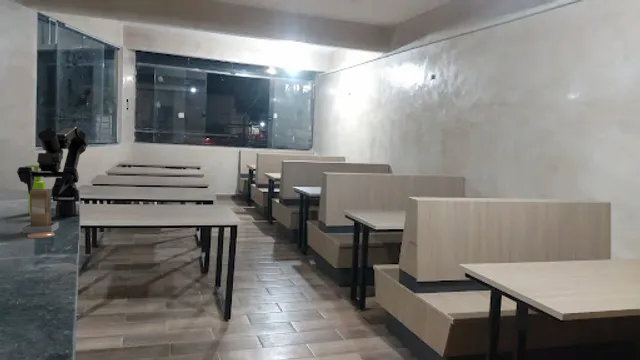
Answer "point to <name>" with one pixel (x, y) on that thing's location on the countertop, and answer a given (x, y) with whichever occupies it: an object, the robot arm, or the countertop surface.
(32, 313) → the countertop surface
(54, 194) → the robot arm
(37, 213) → the walnut box
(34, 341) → the countertop surface
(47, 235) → the brown curved piece
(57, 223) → the gray tray
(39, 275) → the countertop surface
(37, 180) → the soap dispenser
